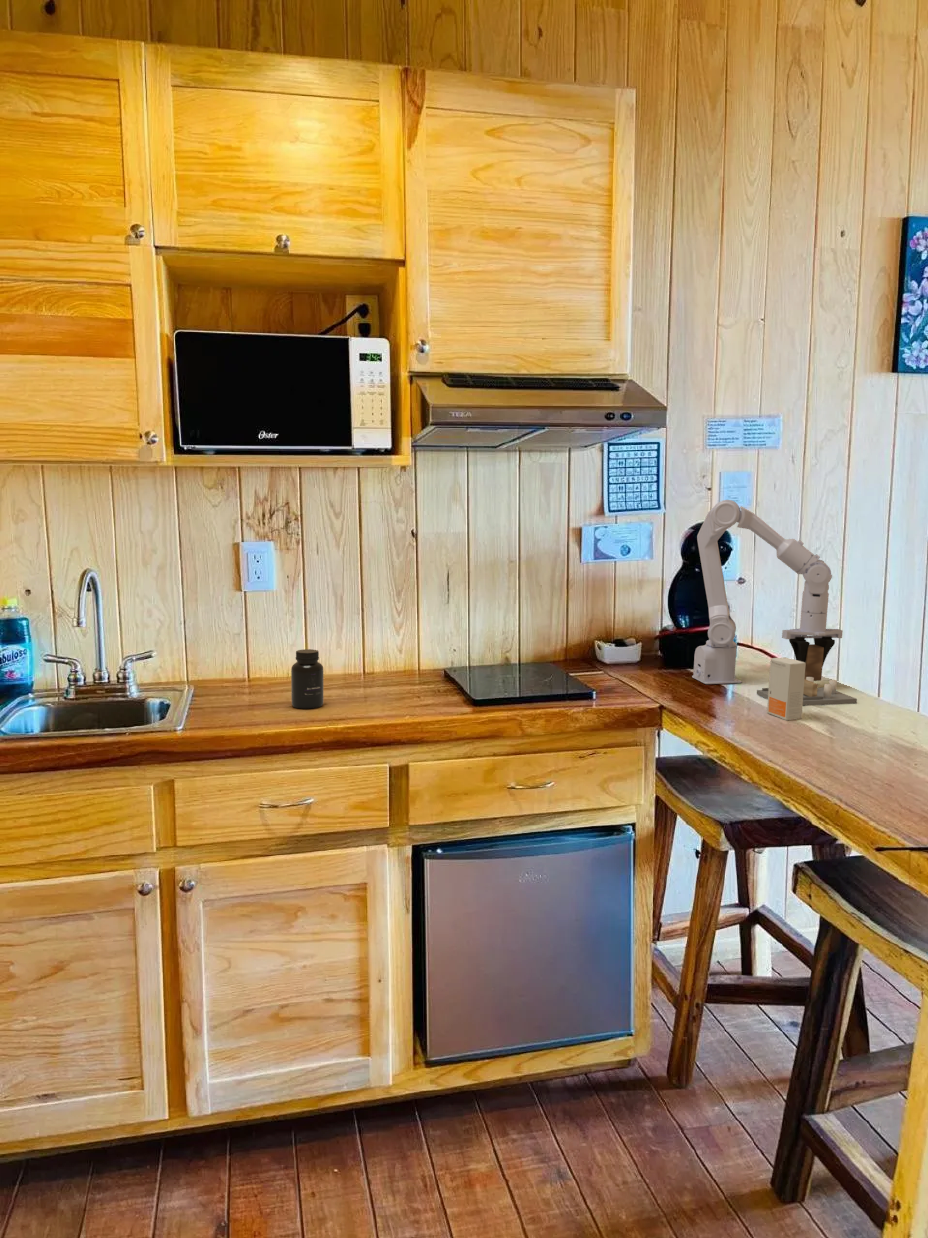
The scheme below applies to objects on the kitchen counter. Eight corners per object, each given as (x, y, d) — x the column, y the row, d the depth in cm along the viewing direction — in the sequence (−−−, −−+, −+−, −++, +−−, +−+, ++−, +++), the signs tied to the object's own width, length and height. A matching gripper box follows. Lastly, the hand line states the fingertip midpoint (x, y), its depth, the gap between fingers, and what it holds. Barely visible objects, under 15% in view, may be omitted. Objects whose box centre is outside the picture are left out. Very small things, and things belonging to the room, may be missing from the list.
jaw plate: (811, 697, 192) (812, 684, 191) (792, 689, 199) (792, 676, 199) (816, 697, 192) (817, 684, 191) (796, 689, 200) (797, 676, 199)
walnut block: (805, 681, 204) (808, 647, 203) (796, 677, 208) (798, 644, 207) (821, 680, 205) (823, 647, 204) (811, 676, 209) (814, 644, 208)
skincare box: (765, 713, 183) (769, 658, 181) (781, 711, 185) (785, 656, 183) (786, 721, 177) (790, 663, 176) (802, 719, 179) (806, 662, 177)
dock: (782, 706, 189) (783, 688, 188) (756, 694, 200) (757, 677, 199) (856, 703, 192) (857, 685, 192) (827, 691, 203) (828, 674, 202)
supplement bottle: (313, 711, 182) (312, 655, 180) (285, 707, 185) (284, 652, 183) (329, 703, 189) (328, 649, 187) (302, 700, 191) (301, 647, 189)
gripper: (795, 614, 199) (790, 672, 201) (852, 613, 201) (847, 670, 204) (779, 610, 206) (774, 666, 208) (834, 609, 208) (829, 664, 210)
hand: (809, 668), depth 206 cm, fingers closed on walnut block, 4 cm apart
